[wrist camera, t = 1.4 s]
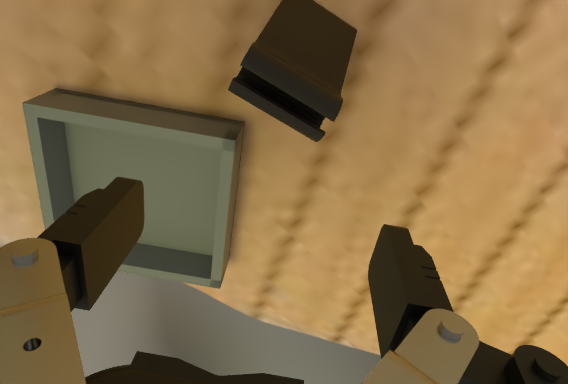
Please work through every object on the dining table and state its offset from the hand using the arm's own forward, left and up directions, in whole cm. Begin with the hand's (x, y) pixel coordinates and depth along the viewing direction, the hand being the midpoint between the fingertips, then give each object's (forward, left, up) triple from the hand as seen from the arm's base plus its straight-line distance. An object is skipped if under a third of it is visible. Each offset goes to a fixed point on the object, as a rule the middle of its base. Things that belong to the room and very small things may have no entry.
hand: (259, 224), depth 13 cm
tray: (-12, -13, -22) cm, 28 cm away
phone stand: (0, +1, -23) cm, 23 cm away
